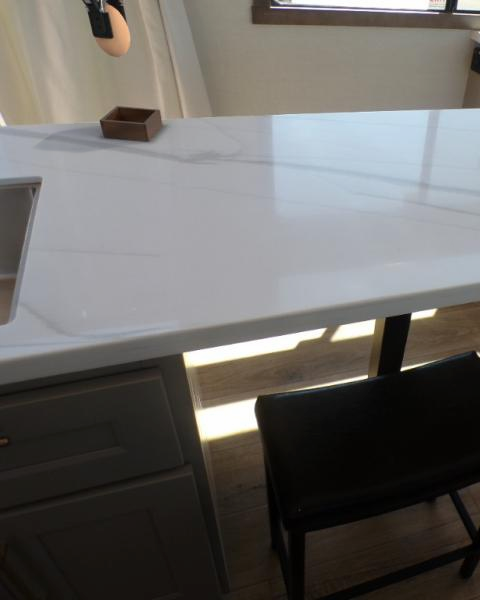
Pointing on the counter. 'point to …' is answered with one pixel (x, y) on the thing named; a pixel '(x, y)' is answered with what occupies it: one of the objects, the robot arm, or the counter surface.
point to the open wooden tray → (131, 123)
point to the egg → (115, 35)
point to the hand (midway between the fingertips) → (111, 32)
